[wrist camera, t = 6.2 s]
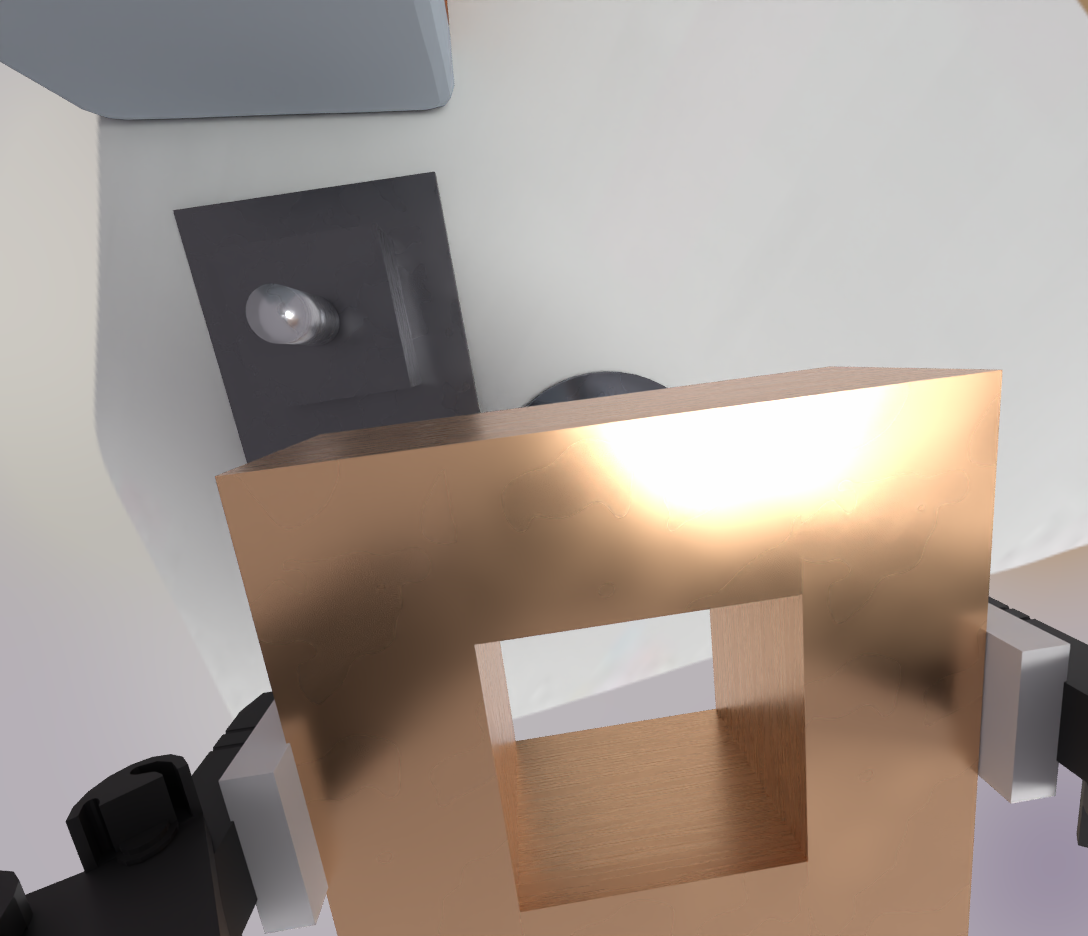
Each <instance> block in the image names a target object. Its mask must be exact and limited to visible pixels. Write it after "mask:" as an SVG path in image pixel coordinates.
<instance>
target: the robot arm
mask: <svg viewBox="0 0 1088 936" xmlns="http://www.w3.org/2000/svg"><path fill="white" fill-rule="evenodd" d="M1059 763H1060V764H1062V765H1063V766H1065V767H1066V768H1067V769H1069V770H1070V771H1071V772H1073V773H1074V774H1076V775H1077V776H1078V777H1080V778H1081V779H1082V780H1083V781H1082V790H1081V799H1080V808H1079V817H1078V826H1077V841H1078V845H1080V846H1084V847H1087V848H1088V645H1087V644H1085V643H1083V642H1081V641H1079V640H1077V639H1075V638H1073V637H1071V636H1069V635H1066V634H1065V633H1062V632H1060V631H1058V630H1056V629H1054V628H1052V627H1050V626H1048V625H1046V624H1044V623H1042V622H1040V621H1038V620H1036V619H1030V618H1029V616H1028V615H1026V614H1024V613H1022V612H1020V611H1017V610H1015V609H1009V607H1008V606H1007V605H1005V604H1003V603H1001V602H999V601H997V600H995V599H993V598H991V597H988V614H987V630H986V647H985V663H984V680H983V696H982V713H981V729H980V746H979V762H978V775H979V776H980V777H981V778H983V779H984V780H985V781H986V782H987V783H988V784H989V785H990V786H991V787H993V788H994V789H995V790H996V791H997V792H998V793H999V794H1001V795H1002V796H1003V797H1004V798H1005V799H1006V800H1007V801H1009V802H1010V803H1016V802H1022V801H1028V800H1034V799H1040V798H1045V797H1051V796H1055V795H1056V785H1057V774H1058V764H1059ZM66 824H67V826H68V829H69V831H70V834H71V837H72V840H73V842H74V845H75V847H76V850H77V852H78V855H79V858H80V860H81V863H82V865H83V868H84V872H82V873H79V874H77V875H75V876H72V877H69V878H67V879H64V880H62V881H59V882H57V883H54V884H52V885H49V886H47V887H44V888H42V889H39V890H37V891H34V892H32V893H29V894H27V895H25V893H24V891H23V888H22V886H21V884H20V881H19V879H18V878H17V876H16V875H15V873H14V872H12V871H0V936H242V933H243V930H244V928H245V926H246V924H247V921H248V920H249V917H250V915H251V913H252V911H253V909H254V906H255V904H256V906H257V909H258V912H259V916H260V919H261V922H262V925H263V929H264V932H265V934H266V933H272V932H278V931H283V930H288V929H295V928H300V927H306V926H311V925H316V922H317V919H318V916H319V913H320V911H321V907H322V905H323V902H324V899H325V896H326V893H327V890H328V884H327V880H326V877H325V873H324V869H323V865H322V862H321V858H320V854H319V850H318V846H317V843H316V839H315V835H314V831H313V828H312V824H311V820H310V816H309V813H308V809H307V805H306V801H305V798H304V794H303V790H302V786H301V783H300V779H299V775H298V771H297V768H296V764H295V760H294V756H293V752H292V749H291V745H290V743H287V744H286V741H285V737H284V733H283V729H282V726H281V722H280V718H279V714H278V711H277V707H276V703H275V699H274V696H273V692H267V693H263V694H261V695H260V696H259V697H258V698H256V699H255V700H254V701H253V702H251V703H250V704H249V705H248V706H246V707H245V708H244V709H243V710H241V711H240V713H239V714H238V715H237V716H236V718H235V719H234V720H233V722H232V723H231V725H230V726H229V727H228V728H227V730H226V734H224V735H222V736H221V738H220V739H219V740H218V742H217V743H216V744H215V746H214V747H213V751H211V752H209V754H208V755H207V756H206V758H205V759H204V760H203V761H202V763H201V764H200V765H199V767H198V768H197V770H196V771H195V772H194V773H193V775H192V776H191V773H190V769H189V766H188V764H187V762H186V761H185V759H184V758H183V757H182V756H176V755H172V754H169V755H163V756H156V757H151V758H149V759H146V760H143V761H140V762H137V763H135V764H132V765H130V766H128V767H126V768H124V769H122V770H121V771H118V772H117V773H115V774H113V775H111V776H109V777H108V778H106V779H105V780H103V781H102V782H101V783H99V784H98V785H97V786H95V787H94V788H93V789H91V790H90V791H88V792H87V793H86V794H85V795H84V797H82V798H81V799H80V801H79V802H78V803H77V804H76V805H75V806H74V807H73V808H72V810H71V812H70V814H69V816H68V818H67V820H66Z"/></svg>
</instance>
